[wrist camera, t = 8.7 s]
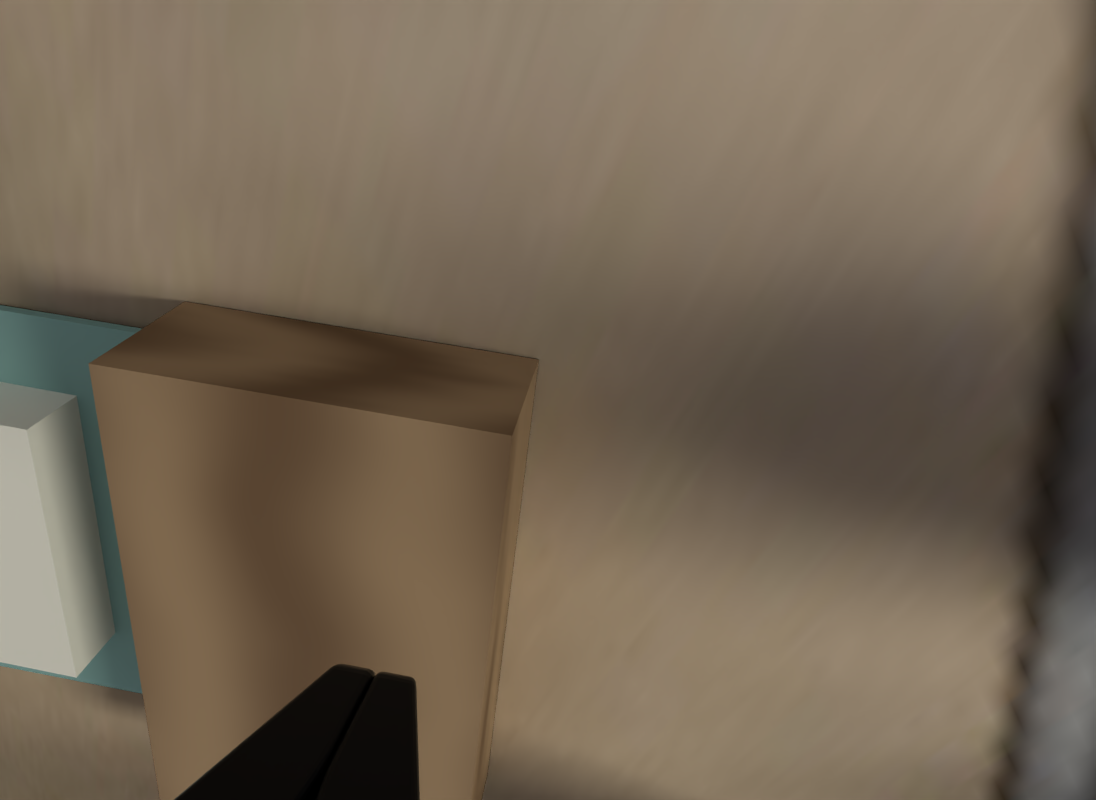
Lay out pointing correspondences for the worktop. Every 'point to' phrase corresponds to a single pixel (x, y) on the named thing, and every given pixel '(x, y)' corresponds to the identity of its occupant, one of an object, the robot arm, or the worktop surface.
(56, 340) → the mat
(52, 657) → the white block
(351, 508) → the brown box
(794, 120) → the worktop surface
